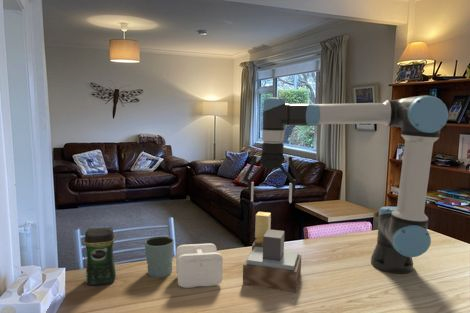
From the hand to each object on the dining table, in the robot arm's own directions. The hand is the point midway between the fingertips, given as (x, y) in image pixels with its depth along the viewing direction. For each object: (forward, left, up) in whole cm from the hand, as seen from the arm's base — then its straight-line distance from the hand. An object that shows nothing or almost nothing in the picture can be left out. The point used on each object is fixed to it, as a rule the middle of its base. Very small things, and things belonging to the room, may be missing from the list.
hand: (271, 201), depth 135 cm
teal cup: (+38, +13, -27) cm, 48 cm away
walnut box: (-2, +1, -27) cm, 27 cm away
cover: (-2, +5, -20) cm, 20 cm away
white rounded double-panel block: (+22, +15, -27) cm, 38 cm away
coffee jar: (+54, +25, -27) cm, 65 cm away
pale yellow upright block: (+5, -9, -18) cm, 21 cm away
